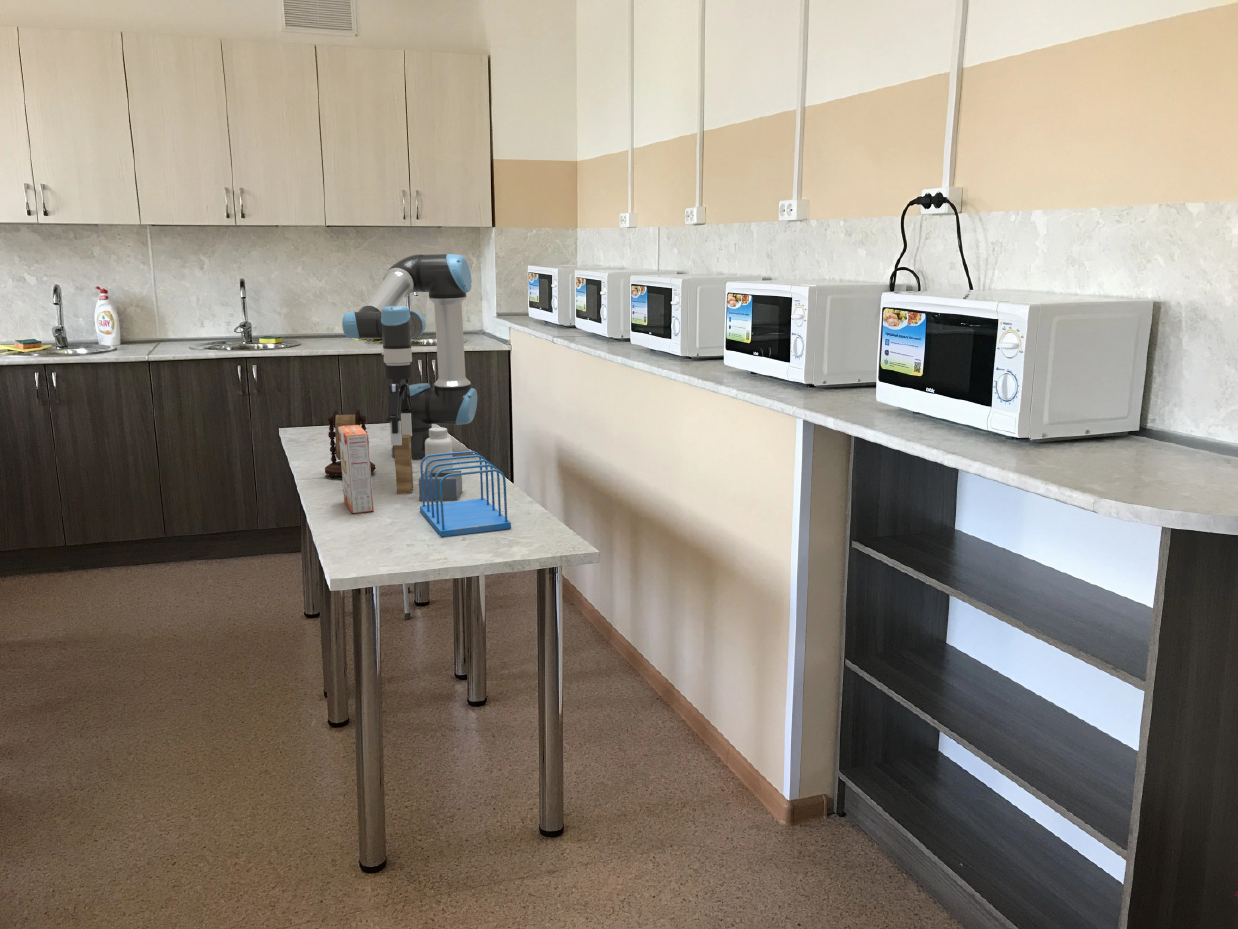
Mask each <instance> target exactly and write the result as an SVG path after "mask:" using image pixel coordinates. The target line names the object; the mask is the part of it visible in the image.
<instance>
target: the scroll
mask: <svg viewBox="0 0 1238 929" xmlns="http://www.w3.org/2000/svg"><path fill="white" fill-rule="evenodd" d="M366 421H367V417H366V415H363V414H362V415H361V411H360V409H359V408H357V409H356V410H355V414H338V410H337V409H334V410H333V412H332V415H329V416H328V417H327V422H328V423H327V424H328V425H329V427H328V430H329V431H328V433H327V434H328V435H327V436H328V437H329V440H330V442H329V446H330V447H329V452H330V455H331V458H330V461H331V463H329V464H328V465H326V466H325V467H324V473H325V474H326V475H328V477H329V479H330V480H331V479H333V476H336V477H337V476H339V477H340V476H341V477H342V467H341V454H340V443H339V431H338V427H340V426H351V425H360V427H361V428H362V429H363V430H364V431H365V432H366V433H367V434H368V431H367V427H366ZM334 430H335V431H334ZM337 460H338V461H337ZM376 468H377V467H376V464H375V463H373V462H372V461H370V469H371V473H372V472H374V471H375V470H376Z"/></svg>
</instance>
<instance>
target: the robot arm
mask: <svg viewBox="0 0 1238 929" xmlns="http://www.w3.org/2000/svg"><path fill="white" fill-rule="evenodd" d="M472 280H473V279H472V273H471V268H470V265H469V263H468V261H467V259H466V258H465V257H464V255H461V254H453V253H442V254H440V253H439V254H438V253H437V254H436V253H435V254H434V253H433V254H432V253H431V254H420V253H419V254H413V255H410V256H407V257H404V258H402V259H400V260H398V261H397V262H395V263H393V265H391V266H390V267H389V268H388V269H387V270H386V272H385V273H384V274H383V278H382V282H381V283H380V285H379V286H378V287H377V288H376V289H375V291H374V292H373V293H372V294H371V295H370V297H369V298H368V299H367V301H366V302H364V304H363V305H362V306H361V308H360V309H359V310H358V311H355V310H353V311H347V312H345V313H344V315H343V317H342V319H341V320H342V321H341V325H342V331H343V334H344V336H345V337H346V338H348V339H356V340H374V339H375V340H377V339H378V340H379V339H380V340H381V339H382V348H383V349H382V351H381V355H382V356H383V363H385V365H384V366H383V372H384V374H383V375H384V376H383V377H384V378H385V379H386V380H392V382H391V383H390V384H389V385H388V390H389V391H388V392H389V393H388V410H387V418H386V422H388V423H389V424H390V425H389V428H390V444H391V446H392V447H391V457H392V458H394V459H395V451H394V445H402V436H401V435H410V436H411V455H412V460H422V459H423V458H424V457H425V441H426V439H428V438H430V436H429V429H430V428H433V425H456V426H459V425H468V424H470V423H472V421H473V420H474V418H475V415H476V411H477V406H478V393H477V392H478V391H477V389H475V388H473V387H472V384H471V380H469V379H468V378H467V377H466V363H465V362H466V361H465V344H464V343H465V342H464V341H465V340H464V326H463V325H464V322H463V321H464V320H463V305H462V303H463V302H464V301H465V299H466V298H467V293H469V292H470V291H471V290H472ZM412 293H428V299H429V300H430V301H431V302H432V303H433V304H434V305H433V306H434V324H435V338H436V340H435V341H436V357H437V358H436V359H437V369H438V370H437V371H438V372H437V374H438V378H437V380H436V381H435V382H434V384H433V386H434V387H433V388H431V385H430V383H429V382H428V383H427V382H426V383H425V382H423V383H415V384H410V382H409V379H411V378H413V373H414V372H413V365H412V364H411V363H412V362H413V355H412V354H413V352H412V350H413V349H412V340H414V339H418V337H420V336H421V335H423V333H424V332H425V330H426V320H425V318H424V316H423V315H422V314H421V313H419V312H417V311H413V310H410V308H409V307H408V306H403V305H402V306H401V305H400V306H399V303H400V302H401V301H402V300H403V298H405V297H407V296H409V295H410V294H412Z"/></svg>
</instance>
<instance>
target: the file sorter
mask: <svg viewBox="0 0 1238 929" xmlns="http://www.w3.org/2000/svg"><path fill="white" fill-rule="evenodd" d="M463 454H471V455H463ZM473 454H474V455H473ZM445 455H453V457H449V458H440V459H433V460H431V461H429V462H428V463H427V465H426V464H425V469H423V468H424V466H423V465H424V463H425V462H426V461H425V459H427V458H429V457H435V456H445ZM454 455H462V456H454ZM472 458H478V459H475V460H473V459H472ZM462 459H463V460H464V459H472V460H464V461H454V460H462ZM444 460H453V462H451V463H442V464H437V465H435V466H434V467H433V468H432V469H431V471H430V493H431V501H429V493H428V476H427V469H428V466H429V465H430V464H431V463H432V462H435V461H444ZM474 463H479V464H477V465H467V466H455V465H463V464H464V465H465V464H474ZM482 463H484V464H482ZM446 465H453V466H455V467H453V468H446V469H442V470H440V471H439V472H438V473H437V474H436V476H435V497H436V501H435V503H434V501H433V488H432V472H433V470H434V469H435V468H437V467H439V466H446ZM488 467H489V469H488ZM477 468H479V470H475V471H474V470H472V471H464V472H462V471H461V470H468V469H477ZM483 468H485V469H483ZM450 470H453V471H461V472H462V473H454V474H448V475H446V476H444V477H443V478H442V479H441V481H440V501H438V490H437V477H438V475H439V474H440V473H441V472H444V471H450ZM424 472H425V481H426V498H427V501H425V497H424V482H423V473H424ZM494 472H495V473H496V483H497V486H496V487H497V506H498V508H495V507H496V505H495V504H496V503H495V485H494V484H495V483H494ZM489 473H490V478H491V479H490V481H491V483H490V484H491V503H490V498H489V497H490V492H489ZM475 474H476V475H477V474H479V475H480V476H479V477H480V478H479V479H480V480H479V481H480V482H479V483H480V498H475V499H473V498H472V499H465V500H464V499H463V500H457V501H445V502H443V498H442V483H443V481H444V479H446V478H447V477H450V476H458V475H462V476H464V475H475ZM483 474H485V492H486V493H485V494H486V498H484V485H483V484H484V483H483V482H484V481H483ZM500 476H502V484H503V501H504V502H503V503H504V514H502V508H501V507H502V505H501V504H502V503H501V484H500V483H501V482H500V480H501V478H500ZM420 477H421V486H422V504H421V505H419V512H420V513H421V514H422V515H423V517H424V518H425V519H426V521H427V522H428V521H429V522H428V523H429V524H430V526H431V527H432V528H433V530H434V531H435V532H436V533H437V534H438V535H440V536H441V537H440V536H439V537H440V538H443V537H442V536H447V537H452V536H451V535H454V536H461V535H460V534H462V535H468V534H476V533H485V532H493V531H501V530H510V529H512V521H510V520H509V519H508V502H507V501H508V500H507V484H506V483H507V482H506V476H505V474H504V472H503V471H501V470H500V469H498V468H497V467H496V466H495V465H493V464H492V463H491V462H490V461H488V460H487V459H486V458H485V457H484V456H482V455H480V454H479V453H478V452H477V451H474V450H467V451H465V450H464V451H452V453H442V454H433V455H428V456H426V457H424V458H423V459H421V461H420ZM439 502H440V503H439Z"/></svg>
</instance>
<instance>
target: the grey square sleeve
mask: <svg viewBox="0 0 1238 929" xmlns="http://www.w3.org/2000/svg"><path fill="white" fill-rule="evenodd" d="M438 472H439V471H433V472H432V488H433V502H436V497H435V476H436V474H437V473H438ZM454 473H462V470H453V471H444V472H441V473H440V474H439V475H438V477H437V490H438V502H440V481H441V479H442V478H443V477H444V476H446V475H448V474H454ZM427 476H428V493H429V502H431V493H430V471H427ZM423 482H424V497H425V502H427V498H426V481H425V471H423ZM418 490H419V491H418V493H419V494H418V495H419V501H420V502H421V501H422V486H421V476H420V477H419V478H418ZM462 493H463V475H458V476H450V477H447V478H446V479H444V481H443V483H442V498H443V501H445V502H455V501H458V499H459V498H460V496H461V494H462ZM422 502H423V501H422Z"/></svg>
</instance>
